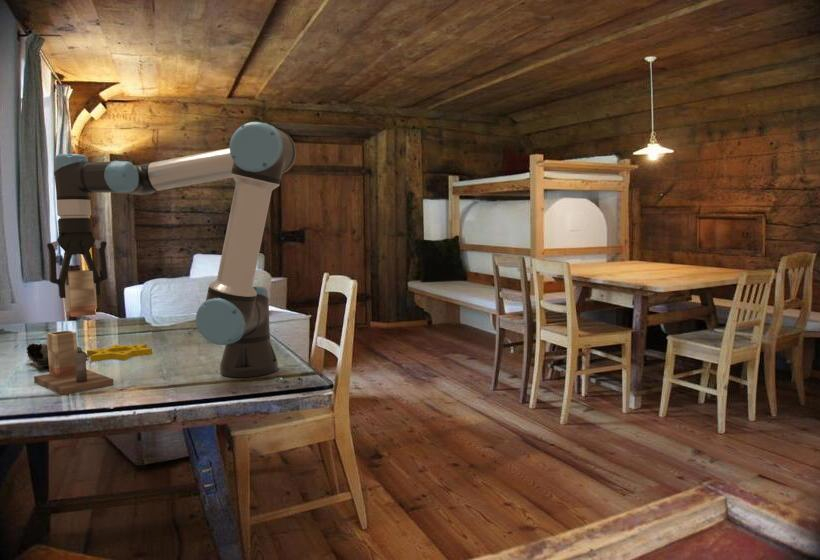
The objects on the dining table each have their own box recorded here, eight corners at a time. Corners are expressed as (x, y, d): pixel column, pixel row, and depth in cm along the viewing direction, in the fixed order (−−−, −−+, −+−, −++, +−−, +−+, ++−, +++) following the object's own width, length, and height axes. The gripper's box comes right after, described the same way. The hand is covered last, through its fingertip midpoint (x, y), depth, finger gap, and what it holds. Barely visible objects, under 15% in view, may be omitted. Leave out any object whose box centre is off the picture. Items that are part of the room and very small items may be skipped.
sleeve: (90, 312, 164) (87, 270, 163) (95, 314, 160) (92, 271, 159) (67, 314, 161) (64, 271, 160) (71, 316, 157) (68, 272, 156)
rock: (39, 385, 177) (97, 369, 185) (32, 353, 174) (91, 339, 182) (28, 363, 190) (82, 349, 199) (21, 333, 187) (77, 321, 196)
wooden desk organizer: (113, 384, 160) (110, 335, 159) (62, 395, 152) (58, 343, 150) (83, 373, 174) (79, 328, 173) (34, 382, 165) (30, 334, 164)
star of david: (155, 358, 194) (155, 350, 194) (92, 366, 185) (91, 358, 185) (144, 348, 211) (143, 341, 211) (85, 354, 202) (85, 347, 202)
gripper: (110, 217, 167) (116, 304, 169) (29, 218, 156) (36, 312, 158) (118, 216, 161) (123, 307, 163) (34, 217, 150) (42, 315, 152)
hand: (81, 309), depth 161 cm, fingers closed on sleeve, 5 cm apart
